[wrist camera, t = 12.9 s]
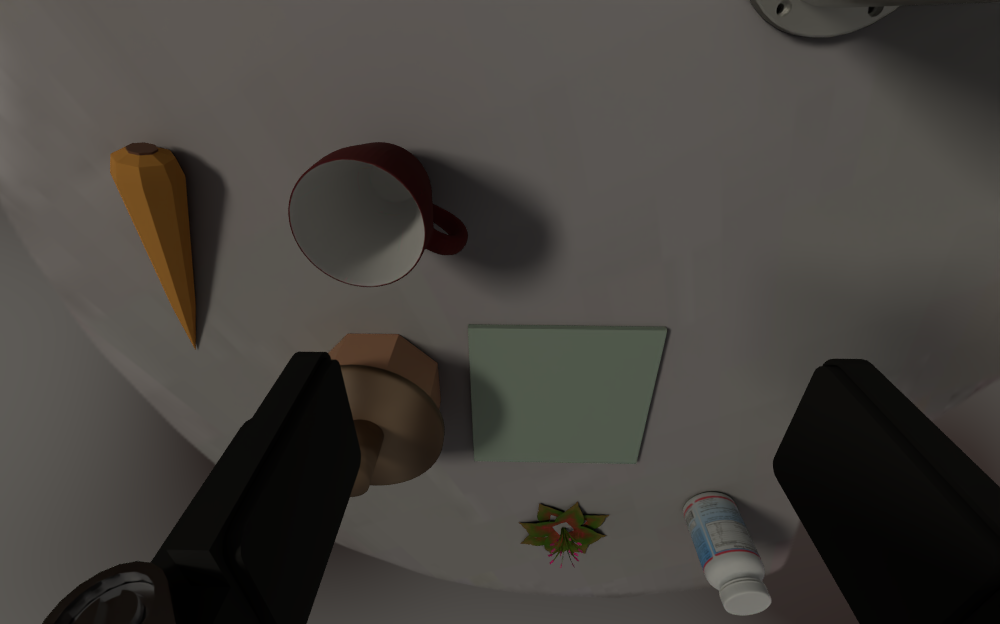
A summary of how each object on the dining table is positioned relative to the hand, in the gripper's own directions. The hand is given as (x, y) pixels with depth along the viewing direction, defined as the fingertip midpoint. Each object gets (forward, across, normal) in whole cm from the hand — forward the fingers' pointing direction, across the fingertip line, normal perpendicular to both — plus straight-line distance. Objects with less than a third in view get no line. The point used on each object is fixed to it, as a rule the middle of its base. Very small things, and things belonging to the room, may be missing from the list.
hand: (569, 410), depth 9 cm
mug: (+28, +9, +4) cm, 30 cm away
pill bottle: (+28, -23, +43) cm, 56 cm away
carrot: (+29, +30, +10) cm, 43 cm away
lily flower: (+29, -6, +48) cm, 57 cm away
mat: (+28, -4, +26) cm, 39 cm away
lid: (+22, +14, +24) cm, 36 cm away
